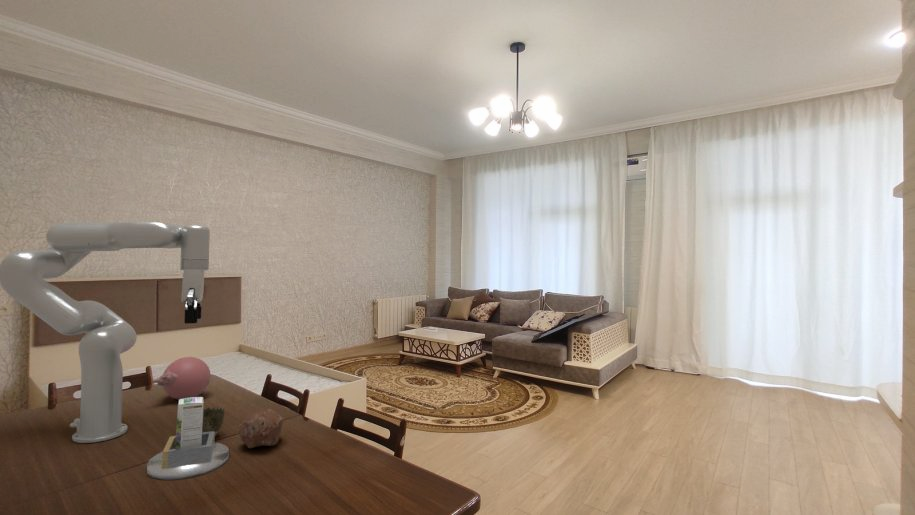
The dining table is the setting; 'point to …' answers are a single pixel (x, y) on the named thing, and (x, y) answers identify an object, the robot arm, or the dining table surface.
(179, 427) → the syrup box
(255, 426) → the decorative rock
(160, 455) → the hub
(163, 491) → the dining table surface
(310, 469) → the dining table surface
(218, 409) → the dark green lumpy clump
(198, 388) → the inflated balloon
